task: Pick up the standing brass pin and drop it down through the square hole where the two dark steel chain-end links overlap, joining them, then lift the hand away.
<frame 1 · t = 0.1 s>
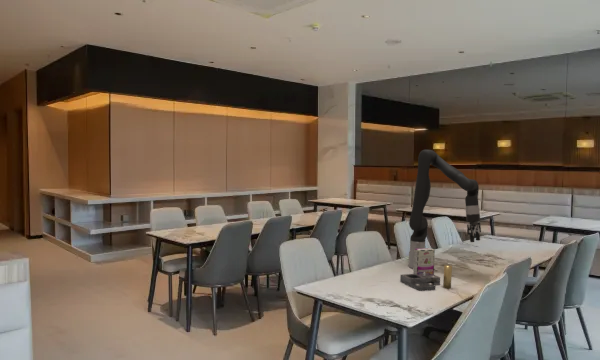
hand: (475, 241, 258), 22 cm above the table, tool pointing down, fingers open, 8 cm apart
lower chain end: (413, 283, 244), on the table
brass pin: (447, 287, 239), on the table
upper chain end: (413, 283, 244), on the table
candy bar box: (423, 277, 261), on the table
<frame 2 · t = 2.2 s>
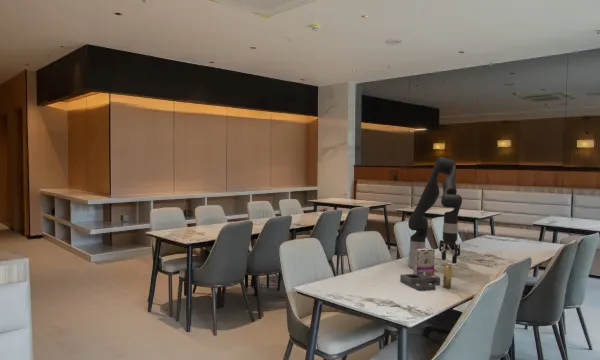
hand: (448, 261, 238), 14 cm above the table, tool pointing down, fingers open, 8 cm apart
nothing on the table moved.
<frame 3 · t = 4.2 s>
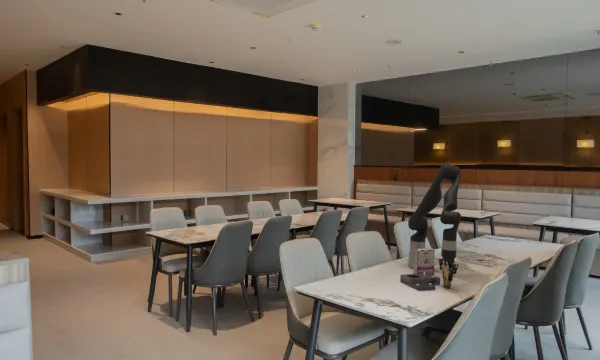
hand: (447, 279, 238), 4 cm above the table, tool pointing down, fingers closed on brass pin, 4 cm apart
brass pin: (447, 287, 239), on the table, touching gripper
everything else where it was.
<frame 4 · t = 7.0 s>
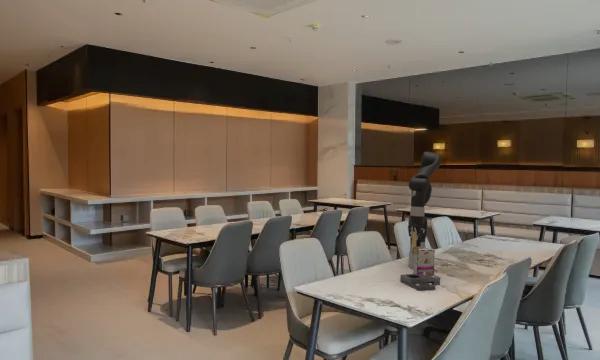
hand: (415, 245, 243), 21 cm above the table, tool pointing down, fingers closed on brass pin, 4 cm apart
brass pin: (415, 253, 243), point 17 cm above the table, touching gripper
everything else where it was.
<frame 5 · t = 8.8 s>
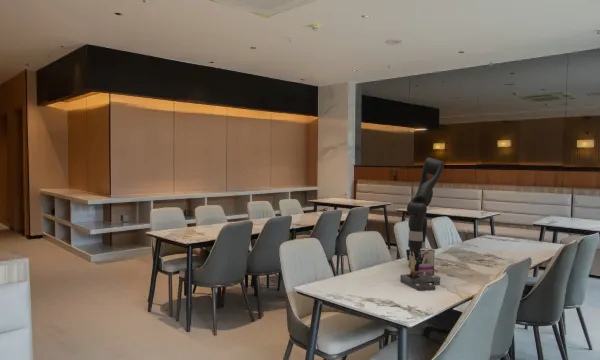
hand: (414, 269, 244), 8 cm above the table, tool pointing down, fingers closed on brass pin, 4 cm apart
brass pin: (413, 277, 244), point 3 cm above the table, touching gripper
everything else where it was.
when the fingers open (5 cm above the table, at t = 10.0 s): brass pin stays where it is, resting in lower chain end.
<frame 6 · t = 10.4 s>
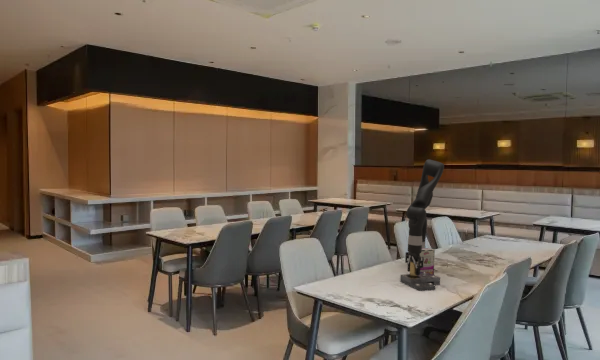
hand: (413, 273, 244), 6 cm above the table, tool pointing down, fingers open, 7 cm apart
brass pin: (413, 283, 244), resting in lower chain end
everything else where it was.
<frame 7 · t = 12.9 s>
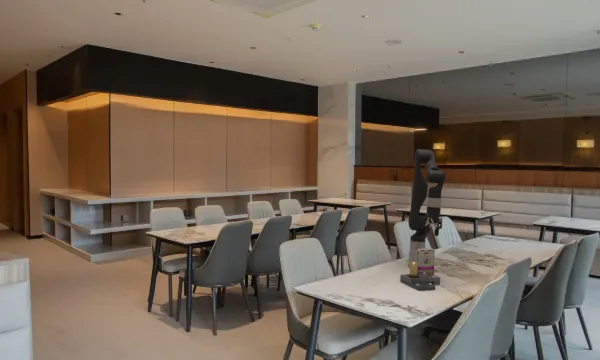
hand: (431, 234, 250), 27 cm above the table, tool pointing down, fingers open, 8 cm apart
nothing on the table moved.
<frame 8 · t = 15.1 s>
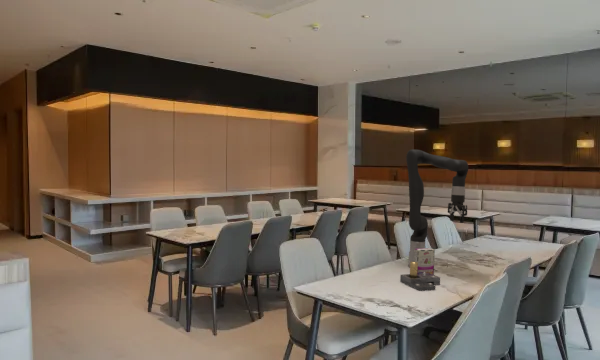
hand: (456, 221, 259), 33 cm above the table, tool pointing down, fingers open, 8 cm apart
nothing on the table moved.
at the end: brass pin 0.0 cm off-centre on the lower chain end, point 0.0 cm above the lower chain end's base; brass pin tilted 0°; the gripper is holding nothing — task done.
